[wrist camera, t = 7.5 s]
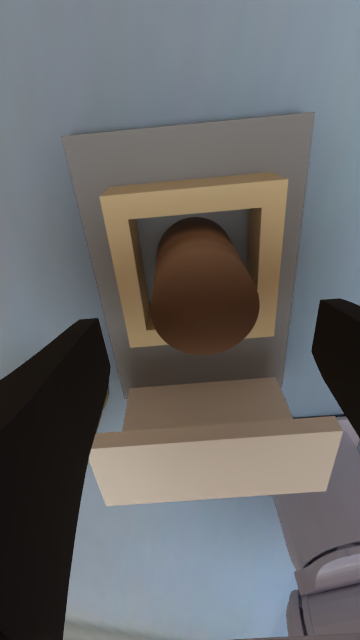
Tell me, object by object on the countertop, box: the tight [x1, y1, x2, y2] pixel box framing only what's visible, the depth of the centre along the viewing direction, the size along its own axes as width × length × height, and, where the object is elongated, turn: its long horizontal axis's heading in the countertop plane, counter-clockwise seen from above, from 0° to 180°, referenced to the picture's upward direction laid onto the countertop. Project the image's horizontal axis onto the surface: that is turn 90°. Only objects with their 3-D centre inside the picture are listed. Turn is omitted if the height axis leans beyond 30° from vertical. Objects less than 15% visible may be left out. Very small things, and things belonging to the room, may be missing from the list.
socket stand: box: [61, 112, 343, 506], centre depth 15 cm, size 16×11×9 cm
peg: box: [151, 217, 260, 355], centre depth 14 cm, size 4×4×6 cm
